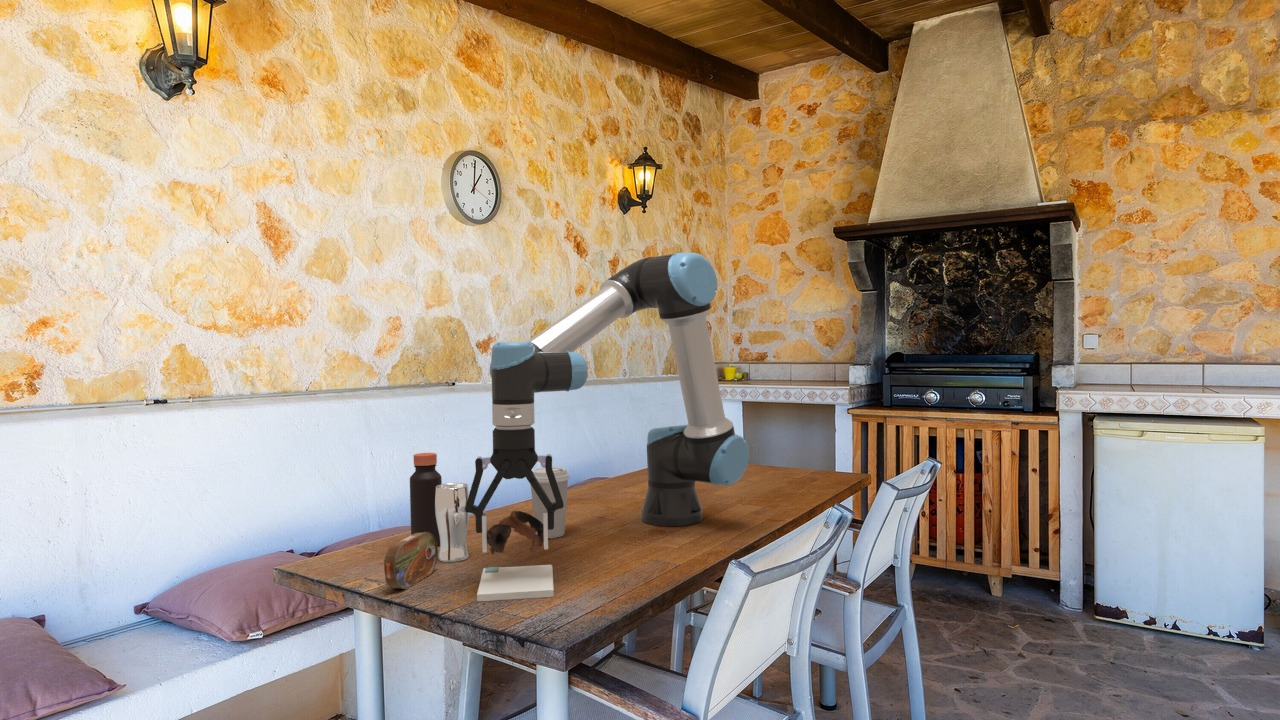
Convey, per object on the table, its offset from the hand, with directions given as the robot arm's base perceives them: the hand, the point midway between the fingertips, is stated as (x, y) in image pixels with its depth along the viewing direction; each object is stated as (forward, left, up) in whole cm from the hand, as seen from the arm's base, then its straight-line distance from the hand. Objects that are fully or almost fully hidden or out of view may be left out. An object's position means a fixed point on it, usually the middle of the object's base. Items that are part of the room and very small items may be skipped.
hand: (515, 548), depth 136 cm
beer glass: (+13, -20, -7) cm, 25 cm away
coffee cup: (-7, -35, -7) cm, 36 cm away
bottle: (+20, -32, -7) cm, 39 cm away
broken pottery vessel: (+1, -2, -1) cm, 3 cm away
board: (0, 0, -7) cm, 7 cm away
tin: (+19, -6, -7) cm, 22 cm away
